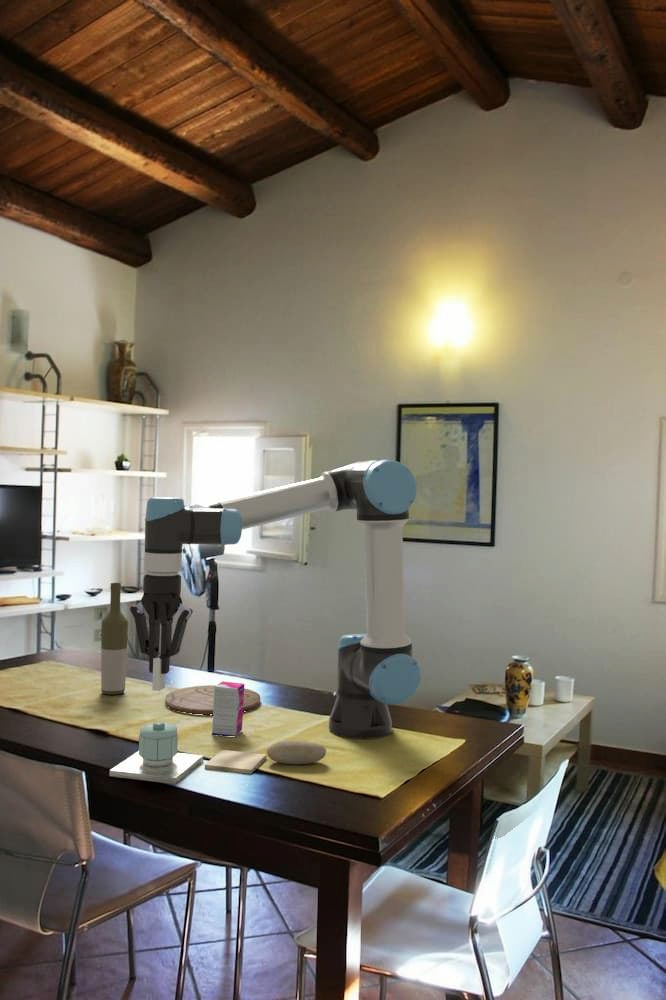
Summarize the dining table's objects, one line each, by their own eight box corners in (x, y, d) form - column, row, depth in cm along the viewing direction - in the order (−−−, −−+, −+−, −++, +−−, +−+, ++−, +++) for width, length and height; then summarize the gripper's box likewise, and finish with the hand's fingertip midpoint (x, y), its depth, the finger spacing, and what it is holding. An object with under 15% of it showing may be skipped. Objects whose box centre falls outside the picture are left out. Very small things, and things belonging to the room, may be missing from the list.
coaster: (266, 758, 179) (266, 754, 179) (251, 773, 170) (251, 769, 170) (222, 753, 182) (222, 749, 182) (204, 768, 172) (204, 764, 172)
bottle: (131, 693, 230) (134, 583, 229) (109, 697, 224) (112, 585, 224) (116, 688, 234) (119, 581, 234) (94, 692, 229) (97, 583, 228)
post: (203, 761, 176) (203, 728, 176) (175, 784, 163) (176, 748, 163) (141, 754, 180) (142, 721, 179) (109, 776, 166) (110, 741, 166)
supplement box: (235, 738, 193) (237, 688, 193) (211, 735, 194) (212, 686, 194) (243, 730, 199) (244, 682, 198) (219, 728, 200) (220, 680, 199)
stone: (264, 746, 179) (317, 728, 182) (272, 776, 178) (326, 757, 180) (265, 745, 174) (320, 727, 176) (274, 776, 172) (329, 757, 175)
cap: (182, 750, 174) (183, 720, 174) (167, 761, 167) (168, 730, 166) (149, 746, 176) (150, 717, 175) (133, 757, 168) (133, 726, 168)
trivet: (221, 723, 206) (221, 715, 206) (144, 706, 218) (145, 699, 218) (278, 701, 227) (278, 694, 227) (205, 687, 240) (205, 681, 240)
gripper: (199, 573, 172) (195, 687, 173) (141, 569, 175) (137, 682, 176) (185, 577, 165) (180, 696, 166) (124, 573, 168) (120, 690, 169)
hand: (158, 689), depth 171 cm, fingers closed
